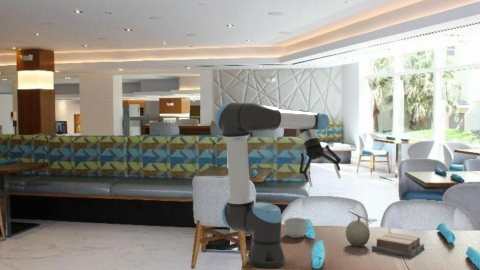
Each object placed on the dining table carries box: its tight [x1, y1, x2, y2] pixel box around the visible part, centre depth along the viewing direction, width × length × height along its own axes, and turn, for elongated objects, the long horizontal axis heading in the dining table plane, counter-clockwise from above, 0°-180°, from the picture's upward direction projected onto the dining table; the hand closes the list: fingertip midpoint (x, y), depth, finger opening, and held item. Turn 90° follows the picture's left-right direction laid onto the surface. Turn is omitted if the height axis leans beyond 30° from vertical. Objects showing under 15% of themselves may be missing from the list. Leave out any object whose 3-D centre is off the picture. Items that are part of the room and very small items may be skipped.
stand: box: [371, 232, 425, 258], centre depth 219 cm, size 17×17×5 cm
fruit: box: [345, 210, 373, 248], centre depth 224 cm, size 10×12×15 cm
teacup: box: [283, 217, 308, 239], centre depth 242 cm, size 14×11×8 cm
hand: (325, 182), depth 230 cm, fingers open, 13 cm apart
